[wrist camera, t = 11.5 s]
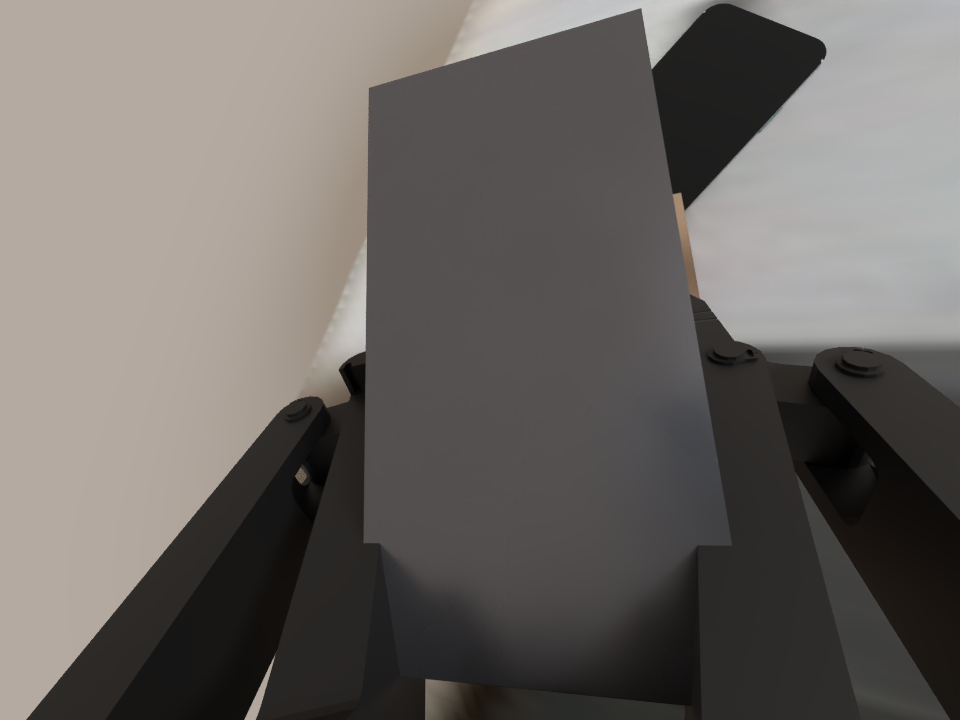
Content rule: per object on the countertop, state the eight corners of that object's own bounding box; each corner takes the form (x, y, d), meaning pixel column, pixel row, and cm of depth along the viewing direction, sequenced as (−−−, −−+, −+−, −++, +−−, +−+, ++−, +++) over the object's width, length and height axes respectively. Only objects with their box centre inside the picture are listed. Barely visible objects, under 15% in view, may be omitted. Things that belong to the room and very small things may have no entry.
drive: (631, 512, 16) (760, 712, 4) (507, 513, 17) (355, 671, 6) (603, 282, 18) (641, 8, 6) (495, 297, 19) (364, 89, 8)
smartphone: (540, 191, 23) (715, -3, 23) (542, 197, 24) (711, 9, 23) (640, 259, 21) (838, 45, 20) (639, 264, 22) (830, 57, 21)
